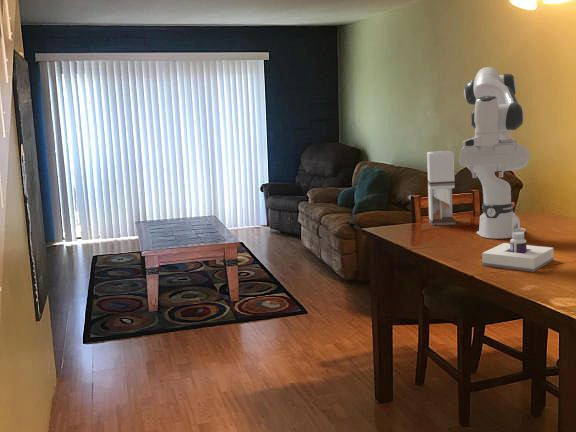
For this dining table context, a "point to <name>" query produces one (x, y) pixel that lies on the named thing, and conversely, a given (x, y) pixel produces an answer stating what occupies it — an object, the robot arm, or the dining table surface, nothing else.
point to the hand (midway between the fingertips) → (487, 177)
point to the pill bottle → (518, 243)
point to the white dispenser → (440, 187)
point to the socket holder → (517, 257)
